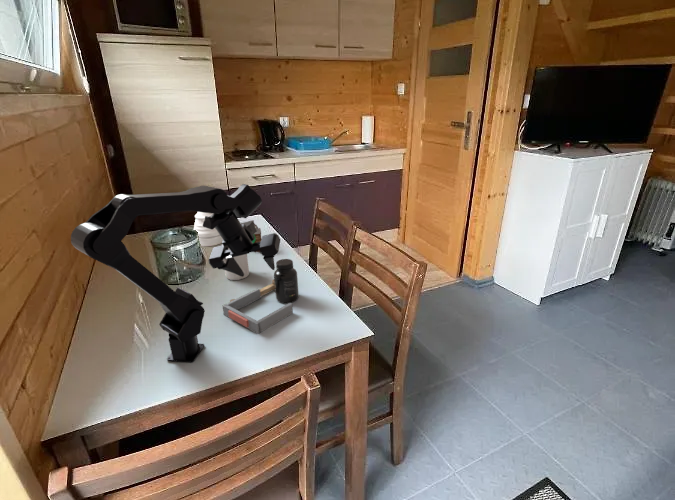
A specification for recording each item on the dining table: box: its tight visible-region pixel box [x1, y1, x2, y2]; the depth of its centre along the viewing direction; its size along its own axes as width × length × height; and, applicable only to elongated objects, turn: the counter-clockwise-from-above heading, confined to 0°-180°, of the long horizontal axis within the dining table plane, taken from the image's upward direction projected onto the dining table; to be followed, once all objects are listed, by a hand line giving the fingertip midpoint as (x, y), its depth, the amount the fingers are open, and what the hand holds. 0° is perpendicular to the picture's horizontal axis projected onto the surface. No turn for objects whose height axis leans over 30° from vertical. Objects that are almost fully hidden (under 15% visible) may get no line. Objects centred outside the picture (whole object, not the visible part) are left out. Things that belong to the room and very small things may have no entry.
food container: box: [251, 219, 262, 253], centre depth 150 cm, size 12×6×10 cm, turn 25°
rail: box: [229, 278, 275, 302], centre depth 114 cm, size 18×2×2 cm, turn 140°
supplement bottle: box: [273, 258, 300, 304], centre depth 111 cm, size 7×7×12 cm
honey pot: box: [193, 211, 223, 247], centre depth 158 cm, size 13×13×18 cm
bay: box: [222, 287, 294, 334], centre depth 105 cm, size 13×15×3 cm
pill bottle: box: [221, 243, 250, 281], centre depth 126 cm, size 8×8×15 cm
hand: (258, 272), depth 103 cm, fingers open, 9 cm apart
